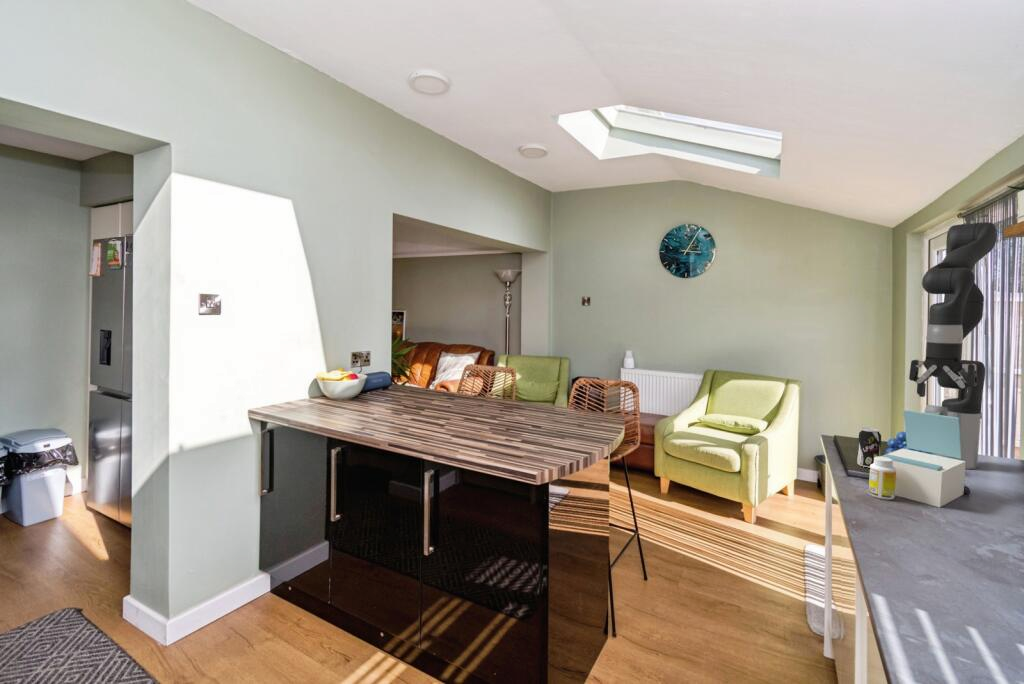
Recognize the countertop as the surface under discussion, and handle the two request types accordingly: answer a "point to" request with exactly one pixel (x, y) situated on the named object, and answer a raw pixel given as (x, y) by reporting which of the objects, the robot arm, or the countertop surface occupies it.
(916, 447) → the flap
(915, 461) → the carton
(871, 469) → the supplement bottle
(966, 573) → the countertop surface
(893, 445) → the grapes
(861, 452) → the beverage can
